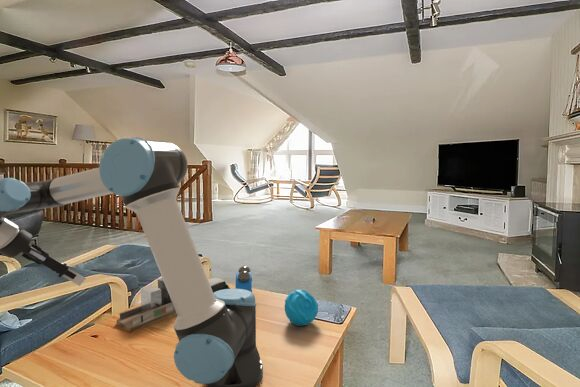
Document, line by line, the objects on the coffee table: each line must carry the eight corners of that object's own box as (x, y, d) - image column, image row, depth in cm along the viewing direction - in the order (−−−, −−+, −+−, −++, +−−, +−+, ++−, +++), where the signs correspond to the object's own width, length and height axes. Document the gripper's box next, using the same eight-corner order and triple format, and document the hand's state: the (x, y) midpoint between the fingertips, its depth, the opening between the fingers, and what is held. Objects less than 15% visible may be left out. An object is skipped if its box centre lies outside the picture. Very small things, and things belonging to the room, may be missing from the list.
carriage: (164, 314, 119) (163, 290, 119) (154, 318, 116) (153, 293, 115) (151, 307, 125) (150, 284, 124) (141, 311, 122) (140, 288, 121)
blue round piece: (296, 335, 108) (296, 301, 107) (277, 321, 118) (277, 290, 116) (323, 324, 115) (324, 292, 114) (303, 312, 125) (303, 282, 123)
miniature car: (183, 305, 131) (183, 286, 130) (218, 291, 146) (217, 273, 145) (198, 311, 126) (197, 291, 125) (232, 296, 140) (232, 277, 140)
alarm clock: (237, 299, 137) (236, 263, 135) (252, 298, 138) (251, 263, 136) (235, 313, 124) (235, 274, 123) (252, 312, 125) (251, 274, 123)
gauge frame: (182, 311, 126) (181, 282, 125) (130, 332, 110) (129, 299, 109) (168, 304, 132) (166, 276, 131) (116, 323, 116) (115, 292, 115)
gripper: (-10, 246, 90) (65, 287, 104) (2, 254, 81) (81, 297, 96) (13, 224, 93) (82, 266, 108) (26, 230, 85) (99, 275, 100)
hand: (81, 281), depth 102 cm, fingers closed
